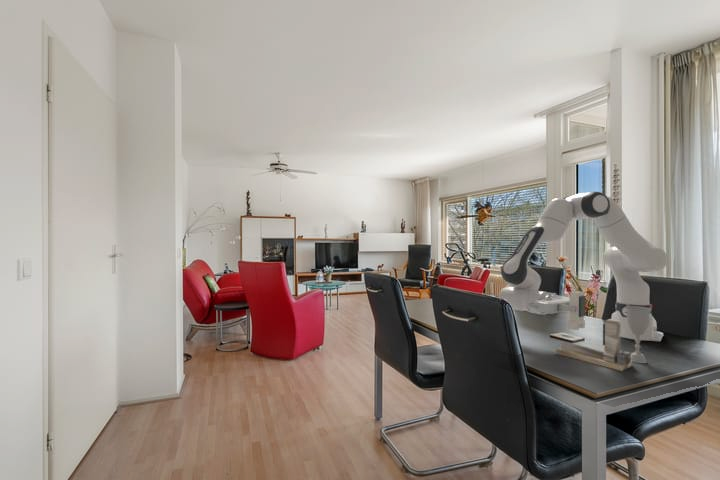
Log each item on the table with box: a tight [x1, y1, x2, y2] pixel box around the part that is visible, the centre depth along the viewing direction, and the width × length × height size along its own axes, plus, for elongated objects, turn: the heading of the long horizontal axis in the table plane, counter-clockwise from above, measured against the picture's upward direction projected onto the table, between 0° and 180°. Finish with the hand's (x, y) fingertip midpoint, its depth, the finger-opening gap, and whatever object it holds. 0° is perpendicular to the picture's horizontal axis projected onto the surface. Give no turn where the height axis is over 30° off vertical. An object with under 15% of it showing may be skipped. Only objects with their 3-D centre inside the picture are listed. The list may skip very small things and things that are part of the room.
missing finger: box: [567, 290, 587, 331], centre depth 123 cm, size 6×4×13 cm, turn 124°
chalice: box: [625, 306, 652, 364], centre depth 119 cm, size 7×7×18 cm
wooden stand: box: [555, 318, 633, 372], centre depth 119 cm, size 8×20×14 cm, turn 34°
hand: (579, 308), depth 123 cm, fingers closed on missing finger, 4 cm apart
